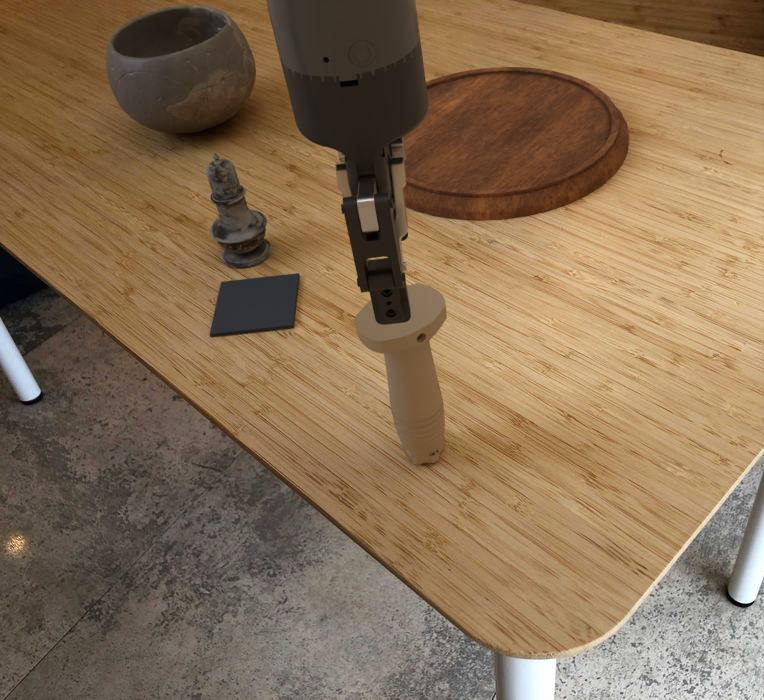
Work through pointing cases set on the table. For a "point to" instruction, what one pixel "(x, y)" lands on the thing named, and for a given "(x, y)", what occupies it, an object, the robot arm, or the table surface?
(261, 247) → the grey stone chess piece
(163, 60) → the bowl
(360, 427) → the table surface
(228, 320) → the place mat
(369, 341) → the handle
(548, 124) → the cutting board
